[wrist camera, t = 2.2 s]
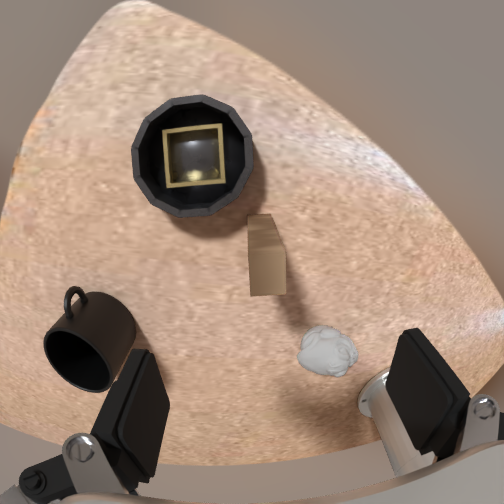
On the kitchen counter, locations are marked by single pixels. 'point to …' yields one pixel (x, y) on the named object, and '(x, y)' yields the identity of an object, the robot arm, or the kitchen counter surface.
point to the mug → (90, 340)
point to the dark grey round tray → (192, 156)
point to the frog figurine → (327, 351)
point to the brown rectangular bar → (265, 257)
